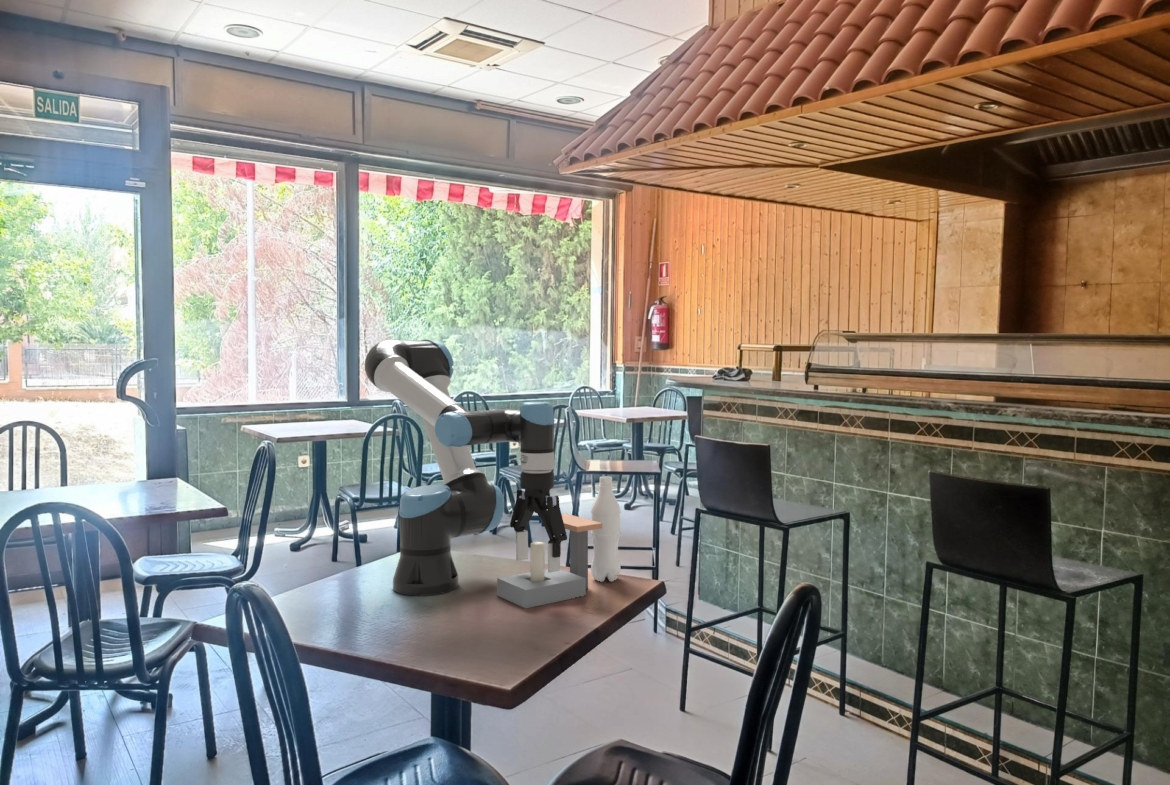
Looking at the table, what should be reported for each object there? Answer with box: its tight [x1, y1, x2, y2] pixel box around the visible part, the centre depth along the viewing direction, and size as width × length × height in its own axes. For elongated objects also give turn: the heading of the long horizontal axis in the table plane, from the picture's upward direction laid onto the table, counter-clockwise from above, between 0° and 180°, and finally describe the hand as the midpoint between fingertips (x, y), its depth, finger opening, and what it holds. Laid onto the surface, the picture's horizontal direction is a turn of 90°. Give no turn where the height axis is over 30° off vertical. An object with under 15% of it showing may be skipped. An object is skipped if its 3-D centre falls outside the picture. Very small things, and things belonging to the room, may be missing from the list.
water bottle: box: [590, 475, 622, 583], centre depth 197 cm, size 7×7×25 cm
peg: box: [529, 541, 546, 583], centre depth 183 cm, size 3×3×12 cm
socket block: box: [496, 568, 587, 609], centre depth 184 cm, size 12×16×4 cm
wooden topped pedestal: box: [561, 513, 602, 589], centre depth 188 cm, size 14×7×16 cm, turn 36°
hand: (537, 565), depth 183 cm, fingers open, 12 cm apart
